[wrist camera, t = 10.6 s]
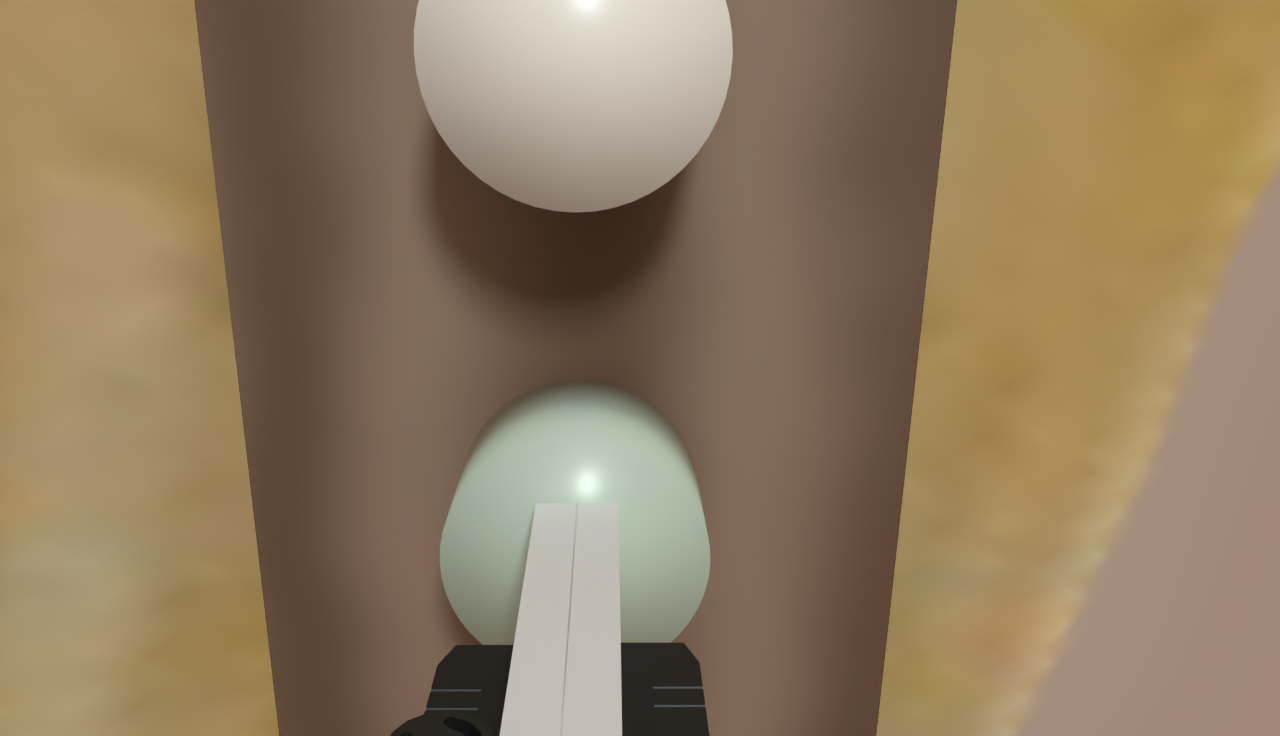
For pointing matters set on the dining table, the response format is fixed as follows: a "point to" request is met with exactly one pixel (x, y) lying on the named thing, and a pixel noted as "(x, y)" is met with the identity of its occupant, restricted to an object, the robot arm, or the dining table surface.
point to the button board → (577, 341)
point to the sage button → (577, 474)
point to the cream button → (574, 92)
